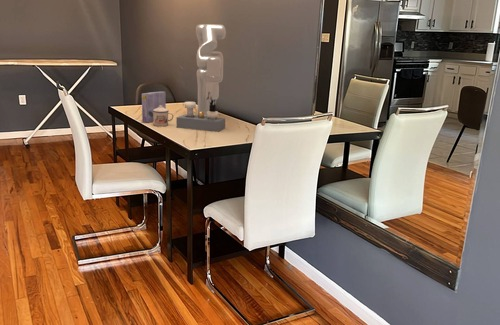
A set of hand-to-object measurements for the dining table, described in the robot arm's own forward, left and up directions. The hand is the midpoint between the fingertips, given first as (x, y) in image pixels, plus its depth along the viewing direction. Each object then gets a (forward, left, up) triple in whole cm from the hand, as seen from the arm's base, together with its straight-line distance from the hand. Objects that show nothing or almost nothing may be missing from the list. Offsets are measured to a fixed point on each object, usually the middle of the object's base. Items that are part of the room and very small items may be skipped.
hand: (212, 111), depth 267 cm
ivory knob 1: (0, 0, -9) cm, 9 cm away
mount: (0, -7, -10) cm, 13 cm away
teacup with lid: (+3, -30, -11) cm, 32 cm away
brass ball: (0, -7, -4) cm, 8 cm away
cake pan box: (-7, -41, -11) cm, 43 cm away
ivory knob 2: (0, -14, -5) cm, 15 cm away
